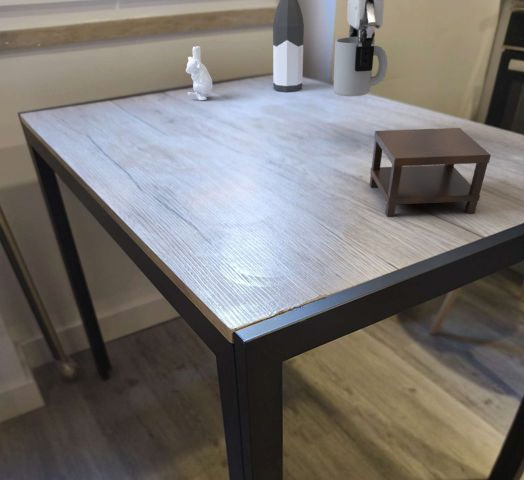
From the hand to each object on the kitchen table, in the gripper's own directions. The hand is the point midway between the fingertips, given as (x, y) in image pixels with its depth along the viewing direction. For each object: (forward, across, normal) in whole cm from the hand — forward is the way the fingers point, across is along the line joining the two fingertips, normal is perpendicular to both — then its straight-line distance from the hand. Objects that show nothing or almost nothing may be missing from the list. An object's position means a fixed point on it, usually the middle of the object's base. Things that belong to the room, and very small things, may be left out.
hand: (359, 65), depth 98 cm
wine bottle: (+14, +47, +10) cm, 50 cm away
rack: (+14, -30, -5) cm, 33 cm away
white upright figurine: (+13, +39, +34) cm, 53 cm away
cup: (+5, 0, 0) cm, 5 cm away
